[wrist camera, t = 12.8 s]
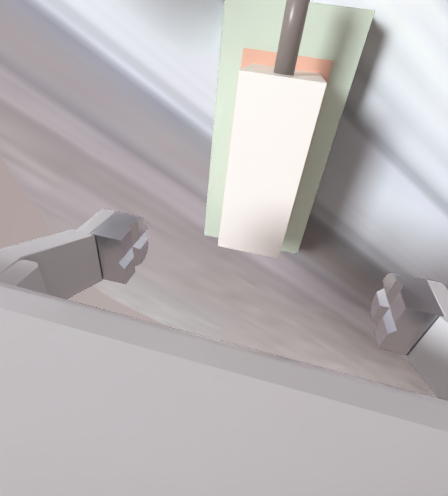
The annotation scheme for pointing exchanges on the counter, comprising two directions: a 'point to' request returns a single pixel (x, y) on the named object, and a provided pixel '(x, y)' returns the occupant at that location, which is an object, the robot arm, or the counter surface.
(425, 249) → the counter surface
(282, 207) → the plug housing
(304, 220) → the green peg board
